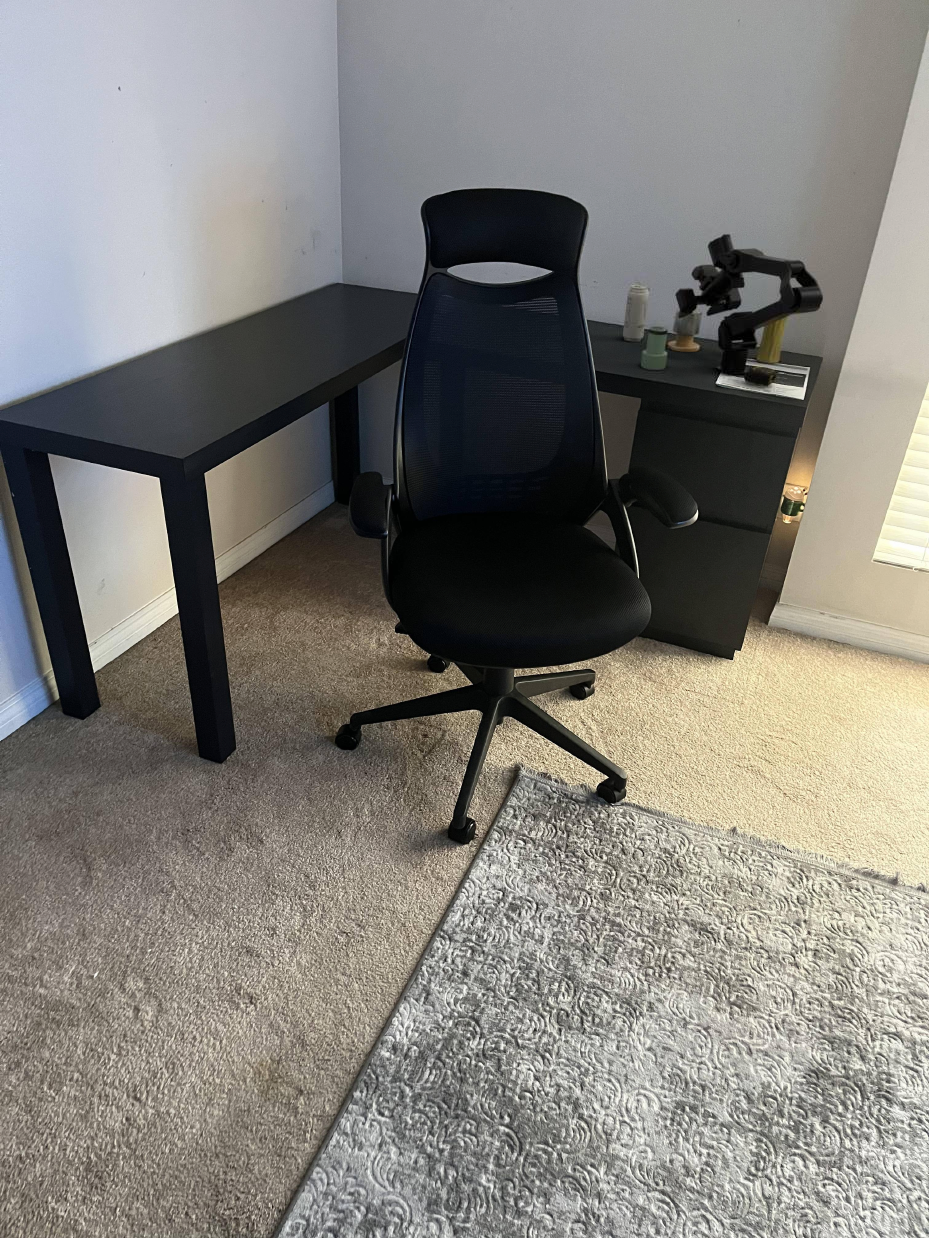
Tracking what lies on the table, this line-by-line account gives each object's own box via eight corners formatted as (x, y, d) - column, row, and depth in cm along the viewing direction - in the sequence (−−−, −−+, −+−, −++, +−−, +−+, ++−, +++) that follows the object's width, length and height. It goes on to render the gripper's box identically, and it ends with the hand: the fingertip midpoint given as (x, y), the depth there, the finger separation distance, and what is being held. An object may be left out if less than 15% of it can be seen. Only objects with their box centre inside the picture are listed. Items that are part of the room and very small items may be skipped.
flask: (670, 369, 237) (675, 331, 231) (648, 371, 235) (653, 333, 229) (657, 362, 242) (662, 325, 236) (636, 364, 240) (641, 326, 234)
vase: (774, 365, 242) (785, 311, 234) (752, 360, 245) (763, 308, 238) (782, 360, 246) (793, 307, 239) (761, 356, 249) (771, 304, 242)
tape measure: (741, 384, 227) (744, 369, 225) (752, 378, 231) (755, 364, 229) (766, 390, 223) (769, 375, 221) (777, 384, 228) (780, 369, 226)
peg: (705, 350, 253) (711, 315, 247) (678, 353, 250) (684, 317, 245) (688, 342, 260) (693, 307, 254) (661, 344, 257) (666, 309, 252)
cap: (703, 334, 251) (707, 312, 248) (681, 336, 249) (685, 314, 245) (689, 327, 257) (693, 306, 253) (668, 329, 254) (671, 308, 251)
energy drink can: (641, 343, 258) (648, 289, 250) (620, 340, 260) (627, 287, 252) (644, 338, 263) (651, 285, 255) (624, 335, 264) (630, 283, 256)
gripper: (743, 254, 238) (713, 288, 252) (684, 257, 232) (656, 292, 246) (755, 291, 236) (724, 323, 250) (696, 295, 230) (667, 327, 245)
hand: (693, 315), depth 248 cm, fingers open, 9 cm apart
